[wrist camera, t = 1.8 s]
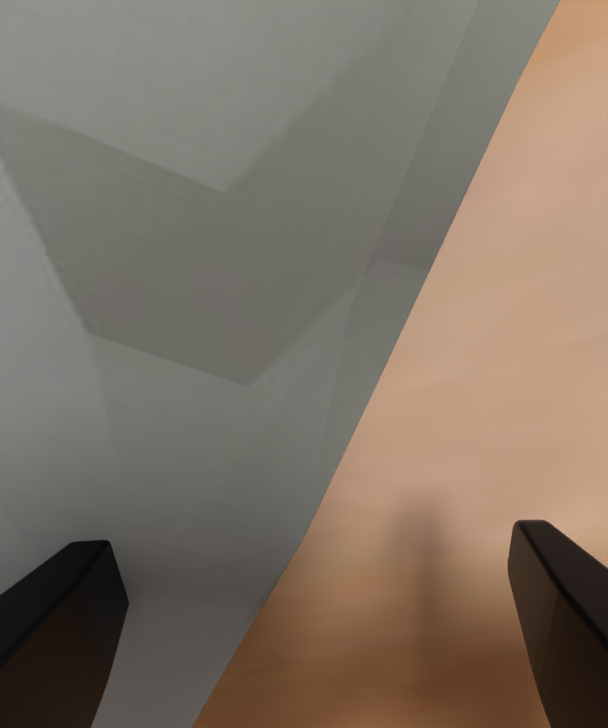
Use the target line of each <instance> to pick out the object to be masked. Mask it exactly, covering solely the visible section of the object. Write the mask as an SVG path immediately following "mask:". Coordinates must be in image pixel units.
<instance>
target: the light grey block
mask: <svg viewBox="0 0 608 728" xmlns="http://www.w3.org/2000/svg"><path fill="white" fill-rule="evenodd" d="M559 2H560V0H0V594H2V593H3V592H4V591H6V590H7V589H8V588H10V587H11V586H12V585H14V584H15V583H17V582H18V581H19V580H21V579H22V578H23V577H25V576H26V575H27V574H29V573H30V572H31V571H33V570H34V569H35V568H37V567H38V566H39V565H41V564H42V563H44V562H45V561H46V560H48V559H49V558H50V557H52V556H53V555H54V554H56V553H57V552H58V551H60V550H61V549H62V548H64V547H65V546H66V545H68V544H69V543H71V542H78V541H92V540H108V541H109V542H110V543H111V546H112V549H113V552H114V556H115V559H116V562H117V565H118V568H119V571H120V575H121V578H122V581H123V584H124V587H125V590H126V594H127V597H128V601H129V607H128V610H127V614H126V618H125V622H124V625H123V629H122V633H121V636H120V640H119V644H118V648H117V651H116V655H115V659H114V663H113V666H112V670H111V673H110V676H109V680H108V683H107V686H106V689H105V691H104V694H103V697H102V700H101V703H100V705H99V708H98V711H97V713H96V716H95V719H94V721H93V724H92V727H91V728H192V726H193V725H194V723H195V721H196V720H197V718H198V716H199V714H200V713H201V711H202V709H203V707H204V706H205V704H206V702H207V701H208V699H209V697H210V695H211V694H212V692H213V690H214V688H215V687H216V685H217V683H218V682H219V680H220V678H221V676H222V675H223V673H224V671H225V669H226V668H227V666H228V664H229V663H230V661H231V659H232V657H233V656H234V654H235V652H236V650H237V649H238V647H239V645H240V643H241V642H242V640H243V638H244V637H245V635H246V633H247V632H248V630H249V628H250V627H251V625H252V623H253V622H254V620H255V618H256V617H257V615H258V613H259V612H260V610H261V608H262V607H263V605H264V603H265V602H266V600H267V598H268V597H269V595H270V593H271V592H272V590H273V588H274V587H275V585H276V583H277V582H278V580H279V578H280V577H281V575H282V573H283V572H284V570H285V568H286V567H287V565H288V563H289V562H290V560H291V558H292V557H293V555H294V553H295V552H296V550H297V548H298V547H299V545H300V543H301V542H302V540H303V538H304V536H305V534H306V532H307V530H308V528H309V526H310V523H311V521H312V519H313V517H314V515H315V513H316V511H317V509H318V507H319V505H320V502H321V500H322V498H323V496H324V494H325V492H326V490H327V488H328V486H329V484H330V481H331V479H332V477H333V475H334V473H335V471H336V469H337V467H338V465H339V462H340V460H341V458H342V456H343V454H344V452H345V450H346V448H347V446H348V444H349V441H350V439H351V437H352V435H353V433H354V431H355V429H356V427H357V425H358V422H359V420H360V418H361V416H362V414H363V412H364V410H365V408H366V406H367V404H368V401H369V399H370V397H371V395H372V393H373V391H374V389H375V387H376V385H377V383H378V380H379V378H380V376H381V374H382V372H383V370H384V368H385V365H386V363H387V361H388V359H389V357H390V355H391V353H392V350H393V348H394V346H395V344H396V342H397V340H398V338H399V335H400V333H401V331H402V329H403V327H404V325H405V323H406V320H407V318H408V316H409V314H410V312H411V310H412V307H413V305H414V303H415V301H416V299H417V297H418V295H419V292H420V290H421V288H422V286H423V284H424V282H425V280H426V277H427V275H428V273H429V271H430V269H431V267H432V265H433V262H434V260H435V258H436V256H437V254H438V252H439V249H440V247H441V245H442V243H443V241H444V239H445V237H446V234H447V232H448V230H449V228H450V226H451V224H452V222H453V219H454V217H455V215H456V213H457V211H458V209H459V207H460V204H461V202H462V200H463V198H464V196H465V194H466V192H467V189H468V187H469V185H470V183H471V181H472V179H473V176H474V174H475V172H476V170H477V168H478V166H479V164H480V161H481V159H482V157H483V155H484V153H485V151H486V149H487V146H488V144H489V142H490V140H491V138H492V136H493V134H494V131H495V129H496V127H497V125H498V123H499V121H500V118H501V116H502V114H503V112H504V110H505V108H506V106H507V103H508V101H509V99H510V97H511V95H512V93H513V91H514V88H515V86H516V84H517V82H518V80H519V78H520V76H521V74H522V72H523V70H524V68H525V67H526V65H527V63H528V61H529V59H530V57H531V55H532V53H533V51H534V49H535V47H536V45H537V44H538V42H539V40H540V38H541V36H542V34H543V32H544V30H545V28H546V26H547V24H548V23H549V21H550V19H551V17H552V15H553V13H554V11H555V9H556V7H557V5H558V3H559Z"/></svg>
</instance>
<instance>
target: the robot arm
mask: <svg viewBox="0 0 608 728" xmlns="http://www.w3.org/2000/svg"><path fill="white" fill-rule="evenodd" d="M508 575H509V581H510V585H511V589H512V592H513V596H514V600H515V604H516V608H517V612H518V616H519V620H520V624H521V628H522V632H523V636H524V640H525V644H526V647H527V651H528V655H529V659H530V663H531V667H532V671H533V675H534V678H535V682H536V686H537V689H538V692H539V695H540V698H541V701H542V704H543V707H544V710H545V713H546V715H547V718H548V721H549V723H550V726H551V728H608V568H607V567H606V566H604V565H603V564H602V563H600V562H599V561H598V560H597V559H595V558H594V557H593V556H591V555H590V554H589V553H588V552H586V551H585V550H584V549H582V548H581V547H580V546H579V545H577V544H576V543H575V542H573V541H572V540H571V539H570V538H568V537H567V536H566V535H564V534H563V533H562V532H561V531H559V530H558V529H557V528H555V527H554V526H553V525H552V524H550V523H549V522H547V521H545V520H518V521H517V522H515V524H514V526H513V530H512V537H511V544H510V551H509V558H508ZM128 607H129V601H128V597H127V594H126V590H125V587H124V584H123V581H122V578H121V575H120V571H119V568H118V565H117V562H116V559H115V556H114V552H113V549H112V546H111V543H110V542H109V541H108V540H92V541H78V542H71V543H69V544H68V545H66V546H65V547H64V548H62V549H61V550H60V551H58V552H57V553H56V554H54V555H53V556H52V557H50V558H49V559H48V560H46V561H45V562H44V563H42V564H41V565H39V566H38V567H37V568H35V569H34V570H33V571H31V572H30V573H29V574H27V575H26V576H25V577H23V578H22V579H21V580H19V581H18V582H17V583H15V584H14V585H12V586H11V587H10V588H8V589H7V590H6V591H4V592H3V593H2V594H0V728H91V727H92V724H93V721H94V719H95V716H96V713H97V711H98V708H99V705H100V703H101V700H102V697H103V694H104V691H105V689H106V686H107V683H108V680H109V676H110V673H111V670H112V666H113V663H114V659H115V655H116V651H117V648H118V644H119V640H120V636H121V633H122V629H123V625H124V622H125V618H126V614H127V610H128Z"/></svg>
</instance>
